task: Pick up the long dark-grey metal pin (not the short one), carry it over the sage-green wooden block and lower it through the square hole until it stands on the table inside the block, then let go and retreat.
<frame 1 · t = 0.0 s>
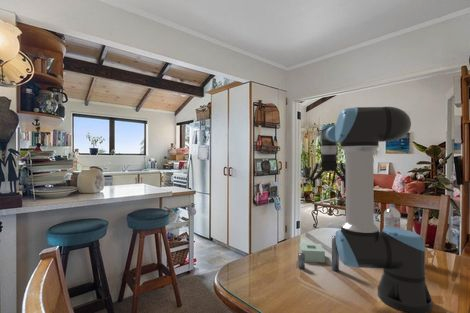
hand: (329, 193, 134), 28 cm above the table, fingers open, 13 cm apart
long pin: (335, 269, 106), on the table
short pin: (301, 267, 108), on the table
water bottle: (392, 257, 120), on the table
hole block: (311, 257, 119), on the table
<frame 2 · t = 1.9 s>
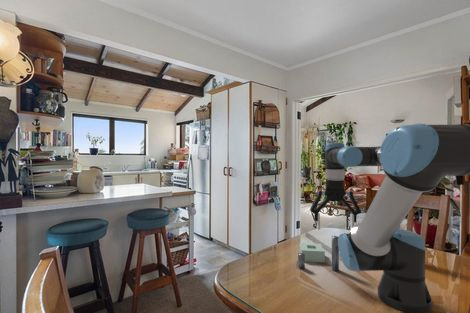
hand: (335, 229, 106), 17 cm above the table, fingers open, 13 cm apart
nothing on the table moved.
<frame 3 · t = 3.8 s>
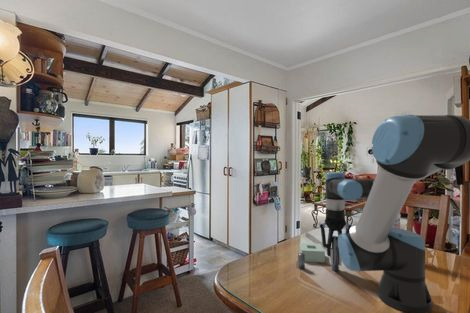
hand: (335, 263, 106), 3 cm above the table, fingers closed on long pin, 3 cm apart
long pin: (335, 269, 106), on the table, touching gripper
everything else where it was.
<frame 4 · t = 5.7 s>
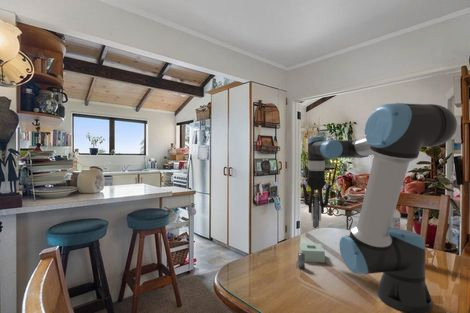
hand: (315, 220, 117), 18 cm above the table, fingers closed on long pin, 3 cm apart
long pin: (315, 226, 117), point 16 cm above the table, touching gripper
everything else where it was.
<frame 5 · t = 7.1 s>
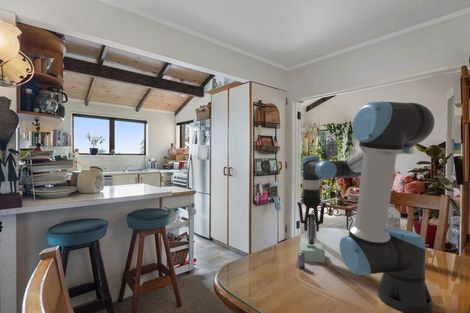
hand: (311, 237, 119), 9 cm above the table, fingers closed on long pin, 3 cm apart
long pin: (311, 243, 119), point 6 cm above the table, touching gripper
everything else where it was.
when the fingers open (6 cm above the table, at t = 7.9 s): long pin drops 2 cm, resting in hole block.
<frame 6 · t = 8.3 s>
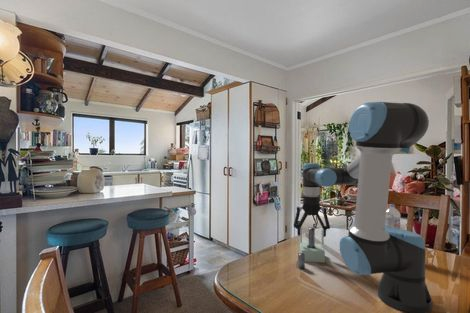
hand: (311, 242, 119), 7 cm above the table, fingers open, 9 cm apart
long pin: (311, 257, 119), resting in hole block
everything else where it was.
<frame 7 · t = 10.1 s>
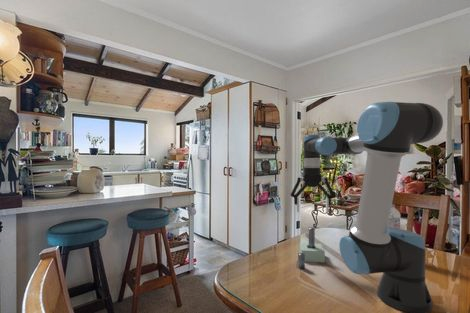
hand: (312, 211, 120), 22 cm above the table, fingers open, 13 cm apart
nothing on the table moved.
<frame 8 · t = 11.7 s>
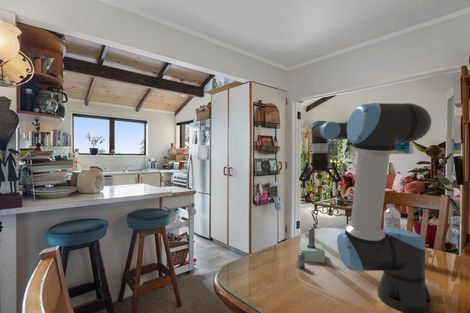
hand: (319, 195, 124), 29 cm above the table, fingers open, 13 cm apart
nothing on the table moved.
at the end: long pin 0.0 cm off-centre on the hole block, point 0.0 cm above the hole block's base; long pin tilted 0°; the gripper is holding nothing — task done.
